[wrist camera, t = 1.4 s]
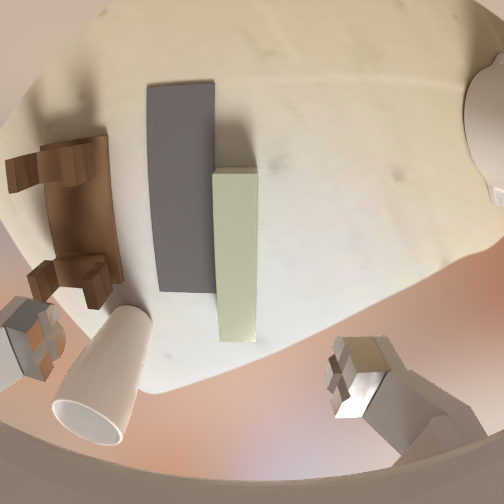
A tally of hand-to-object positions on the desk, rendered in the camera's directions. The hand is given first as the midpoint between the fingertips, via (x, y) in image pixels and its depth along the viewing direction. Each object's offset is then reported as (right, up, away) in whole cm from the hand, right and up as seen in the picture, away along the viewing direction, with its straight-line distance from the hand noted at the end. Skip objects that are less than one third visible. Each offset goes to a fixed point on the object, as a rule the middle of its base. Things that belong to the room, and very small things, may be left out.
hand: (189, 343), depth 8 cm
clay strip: (0, +3, +22) cm, 22 cm away
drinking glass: (-12, -5, +25) cm, 28 cm away
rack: (-16, +6, +20) cm, 26 cm away
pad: (-5, +8, +19) cm, 21 cm away
